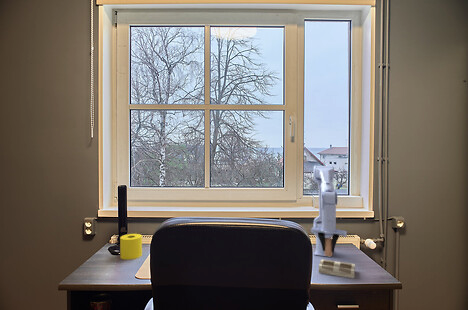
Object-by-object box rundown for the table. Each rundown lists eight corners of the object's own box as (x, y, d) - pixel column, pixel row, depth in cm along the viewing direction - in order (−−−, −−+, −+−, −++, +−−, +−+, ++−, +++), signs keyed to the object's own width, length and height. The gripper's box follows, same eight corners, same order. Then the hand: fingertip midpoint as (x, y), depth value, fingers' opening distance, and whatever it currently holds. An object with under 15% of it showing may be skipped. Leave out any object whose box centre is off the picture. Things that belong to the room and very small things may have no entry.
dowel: (325, 253, 131) (325, 237, 131) (332, 254, 130) (332, 238, 130) (324, 255, 128) (324, 239, 128) (331, 256, 127) (332, 240, 127)
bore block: (321, 265, 134) (321, 259, 134) (354, 270, 129) (354, 264, 129) (318, 272, 127) (318, 265, 127) (354, 278, 121) (354, 271, 121)
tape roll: (125, 252, 152) (125, 233, 152) (144, 252, 151) (144, 233, 151) (116, 259, 142) (116, 239, 142) (137, 259, 141) (137, 240, 141)
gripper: (310, 220, 128) (309, 251, 128) (346, 223, 122) (345, 256, 122) (312, 216, 134) (312, 246, 135) (347, 219, 129) (346, 251, 129)
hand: (328, 250), depth 129 cm, fingers closed on dowel, 3 cm apart
